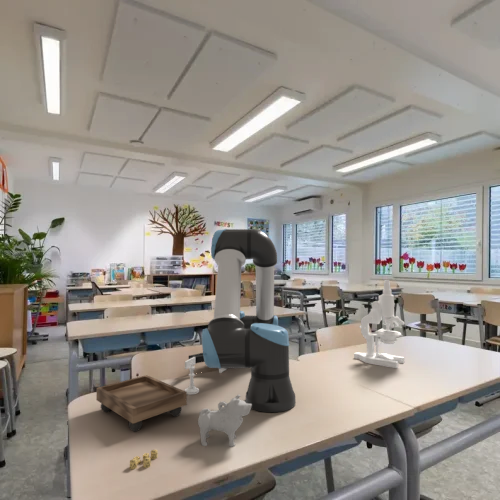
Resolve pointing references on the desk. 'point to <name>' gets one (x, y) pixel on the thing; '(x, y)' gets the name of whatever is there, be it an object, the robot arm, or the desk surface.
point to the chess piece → (191, 382)
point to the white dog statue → (223, 419)
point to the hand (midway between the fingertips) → (202, 367)
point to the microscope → (381, 330)
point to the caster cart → (141, 399)
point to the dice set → (145, 460)
